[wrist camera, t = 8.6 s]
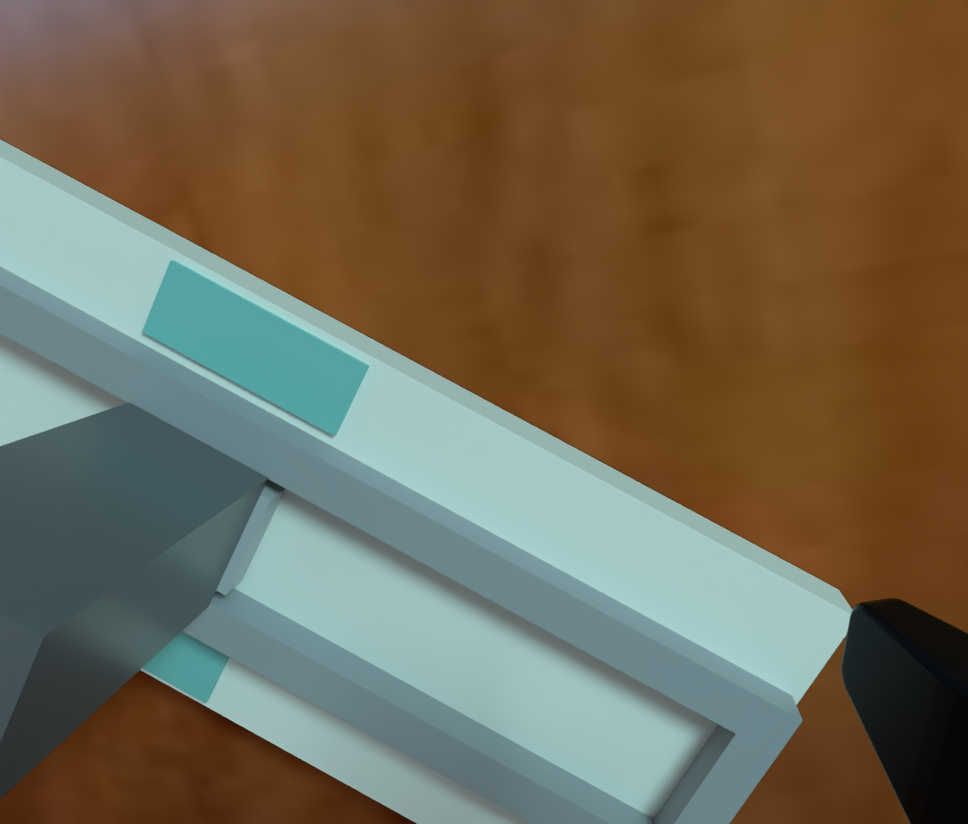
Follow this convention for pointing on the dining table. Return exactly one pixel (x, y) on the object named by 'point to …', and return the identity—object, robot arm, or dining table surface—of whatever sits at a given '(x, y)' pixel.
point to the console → (414, 548)
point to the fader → (108, 563)
